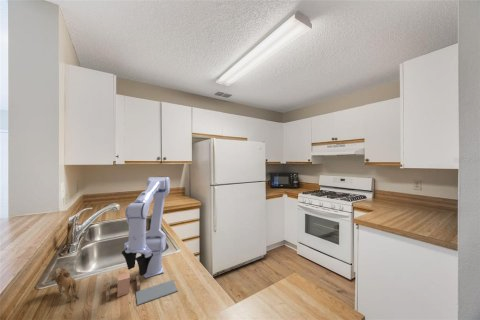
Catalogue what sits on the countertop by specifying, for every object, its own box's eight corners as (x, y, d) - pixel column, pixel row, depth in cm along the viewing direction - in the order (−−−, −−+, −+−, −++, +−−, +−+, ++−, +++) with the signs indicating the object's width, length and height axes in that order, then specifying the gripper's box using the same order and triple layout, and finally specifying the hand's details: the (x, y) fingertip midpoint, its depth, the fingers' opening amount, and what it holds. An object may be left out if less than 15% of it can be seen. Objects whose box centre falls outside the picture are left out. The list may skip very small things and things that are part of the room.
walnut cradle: (107, 288, 76) (107, 282, 76) (138, 279, 82) (138, 273, 82) (105, 302, 69) (106, 295, 69) (140, 291, 75) (140, 284, 75)
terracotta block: (117, 290, 75) (117, 275, 75) (129, 287, 77) (129, 272, 77) (117, 297, 72) (117, 281, 72) (129, 293, 74) (129, 277, 74)
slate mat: (135, 292, 74) (135, 291, 74) (172, 280, 82) (172, 279, 82) (137, 305, 67) (137, 304, 67) (177, 291, 75) (177, 290, 75)
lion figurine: (46, 294, 73) (47, 271, 73) (63, 286, 78) (64, 264, 78) (70, 305, 68) (70, 279, 68) (87, 295, 73) (87, 271, 73)
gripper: (115, 234, 72) (115, 270, 72) (138, 243, 64) (137, 283, 64) (134, 228, 78) (134, 262, 78) (156, 236, 70) (156, 272, 70)
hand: (137, 271), depth 71 cm, fingers open, 7 cm apart
